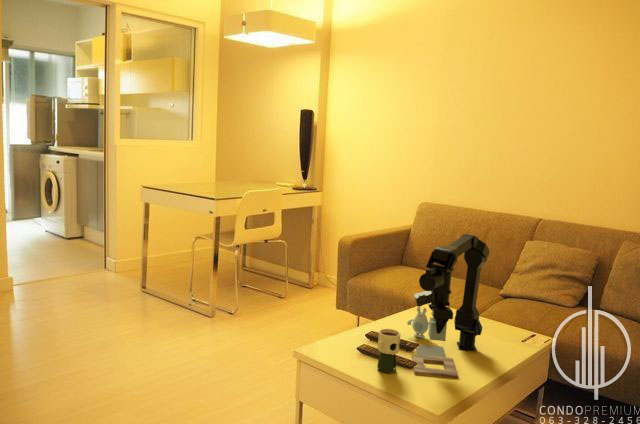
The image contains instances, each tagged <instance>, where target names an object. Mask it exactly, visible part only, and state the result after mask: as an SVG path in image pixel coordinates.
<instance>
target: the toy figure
mask: <svg viewBox="0 0 640 424" xmlns="http://www.w3.org/2000/svg"><path fill="white" fill-rule="evenodd" d="M416 312H417V313H416V315H415V316H414V318H413V319H410V320H408V321H407V323H406V324H407V326H412V329H413V331H414V332H415V333H414V334H413V337H414V338H420V339H425V335H424V334H425V333H426V332H427V331H429V321H428V317H427V315H426V313H427V308H426V307H423V309H422V311H421V306H420V307H418V306H417V308H416Z"/></svg>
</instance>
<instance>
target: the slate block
mask: <svg viewBox="0 0 640 424" xmlns="http://www.w3.org/2000/svg"><path fill="white" fill-rule="evenodd" d="M428 322H429V324H428V333H427V334H428V335H427V336H428V338H429V340H430V341H440V342H441V341H442V342H446V338H447V337H446V336H447V329H448V328H447V327H448V326H447V325H448V322H447V323H446V325H445V326H444V328H443V330H442V331H441V333H440V334H438V333H437V331H436V320H435V318H433V317H429V321H428Z"/></svg>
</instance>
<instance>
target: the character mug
mask: <svg viewBox="0 0 640 424" xmlns="http://www.w3.org/2000/svg"><path fill="white" fill-rule="evenodd" d="M400 342H401V332H400V331H399V330H397V329H393V328H382V329H379V330H378V339H377V351H379V352H380V353H379V356H378V361H377V366H376V367H377V369H378V370H380V371H382V372H384V373H394V372H395V371H397V355H396V354H398V353H399V352H400Z"/></svg>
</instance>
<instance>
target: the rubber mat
mask: <svg viewBox="0 0 640 424" xmlns="http://www.w3.org/2000/svg"><path fill="white" fill-rule="evenodd" d="M415 350H416V355H426V356H437V357H447V356H446V355H447V354H446V353H445V348H444V346H440V345H429V344H428V345H427V344H419V347H418V348H416V347H415Z"/></svg>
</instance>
